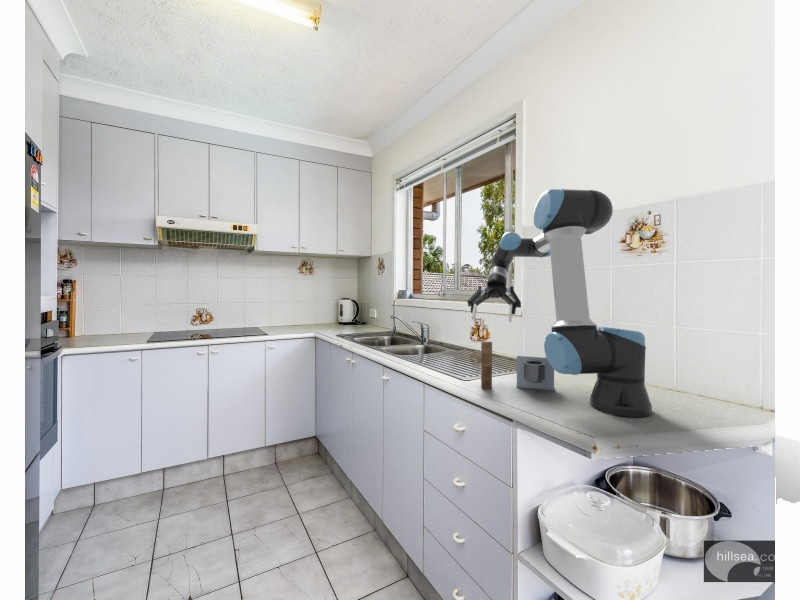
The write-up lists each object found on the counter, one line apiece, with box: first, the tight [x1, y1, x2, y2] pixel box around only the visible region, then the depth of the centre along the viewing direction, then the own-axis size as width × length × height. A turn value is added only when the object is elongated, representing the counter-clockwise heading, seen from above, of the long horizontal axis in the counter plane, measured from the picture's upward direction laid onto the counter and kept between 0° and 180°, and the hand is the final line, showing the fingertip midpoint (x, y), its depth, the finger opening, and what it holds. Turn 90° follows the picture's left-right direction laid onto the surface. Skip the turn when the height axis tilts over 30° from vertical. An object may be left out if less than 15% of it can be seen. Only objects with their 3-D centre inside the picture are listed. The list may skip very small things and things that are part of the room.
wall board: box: [516, 355, 555, 392], centre depth 124 cm, size 5×12×11 cm, turn 67°
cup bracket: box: [524, 360, 545, 383], centre depth 118 cm, size 8×6×6 cm
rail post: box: [480, 340, 493, 390], centre depth 123 cm, size 4×4×16 cm
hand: (491, 319), depth 133 cm, fingers open, 13 cm apart
